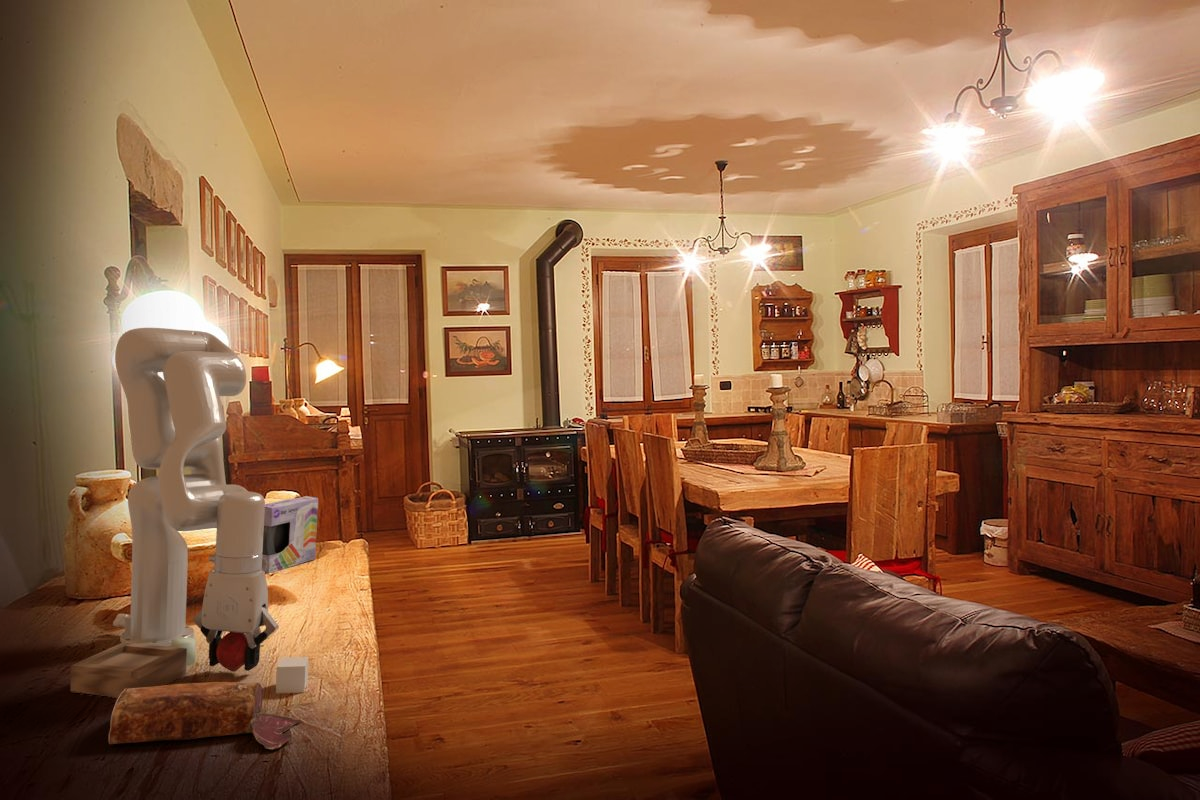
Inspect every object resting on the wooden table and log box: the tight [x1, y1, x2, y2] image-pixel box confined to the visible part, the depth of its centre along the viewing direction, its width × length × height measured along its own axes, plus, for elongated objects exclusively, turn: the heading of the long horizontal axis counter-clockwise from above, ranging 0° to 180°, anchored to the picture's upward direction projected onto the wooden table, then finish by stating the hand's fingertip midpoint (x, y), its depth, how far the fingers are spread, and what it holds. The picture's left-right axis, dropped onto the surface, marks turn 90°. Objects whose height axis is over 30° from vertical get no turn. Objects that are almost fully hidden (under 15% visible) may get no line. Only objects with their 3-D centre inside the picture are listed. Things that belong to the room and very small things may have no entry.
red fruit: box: [216, 632, 249, 673], centre depth 146 cm, size 6×6×8 cm
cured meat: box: [107, 681, 303, 750], centre depth 124 cm, size 18×25×7 cm
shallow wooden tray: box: [69, 642, 187, 699], centre depth 140 cm, size 12×12×4 cm
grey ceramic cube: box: [275, 656, 310, 694], centre depth 141 cm, size 4×4×4 cm
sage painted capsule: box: [170, 637, 197, 667], centre depth 150 cm, size 4×4×4 cm
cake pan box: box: [262, 495, 319, 574], centre depth 224 cm, size 19×5×18 cm, turn 159°
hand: (233, 664), depth 146 cm, fingers closed on red fruit, 5 cm apart
